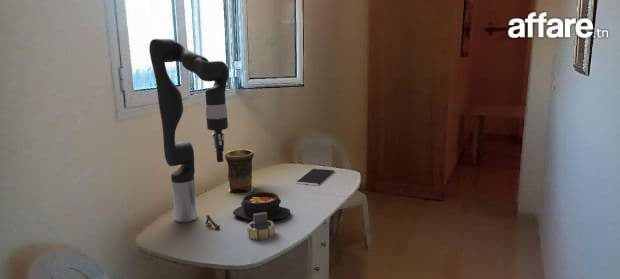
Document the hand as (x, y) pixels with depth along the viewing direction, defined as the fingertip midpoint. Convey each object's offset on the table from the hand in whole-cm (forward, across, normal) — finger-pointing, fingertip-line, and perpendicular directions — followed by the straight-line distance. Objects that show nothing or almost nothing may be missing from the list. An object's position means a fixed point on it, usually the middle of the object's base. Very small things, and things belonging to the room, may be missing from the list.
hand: (220, 161), depth 164 cm
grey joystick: (+26, +6, +13) cm, 30 cm away
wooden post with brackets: (+29, -8, -4) cm, 31 cm away
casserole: (+29, -13, +17) cm, 36 cm away
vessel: (+29, -51, +14) cm, 60 cm away
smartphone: (+30, -57, +56) cm, 85 cm away
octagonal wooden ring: (+29, +6, +13) cm, 32 cm away
